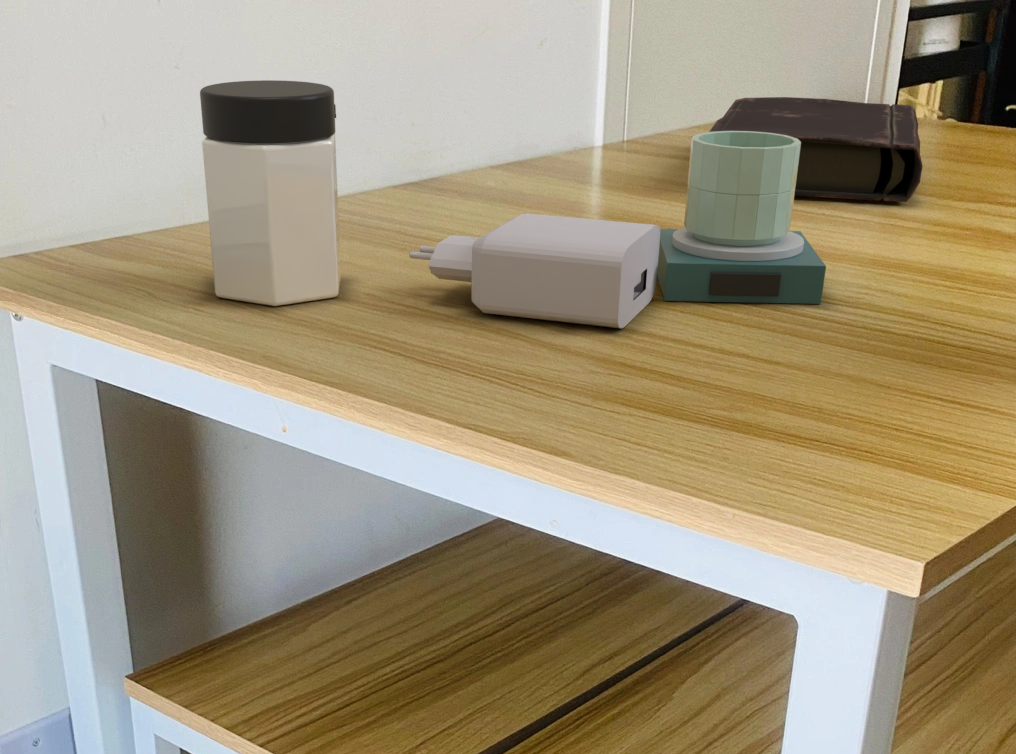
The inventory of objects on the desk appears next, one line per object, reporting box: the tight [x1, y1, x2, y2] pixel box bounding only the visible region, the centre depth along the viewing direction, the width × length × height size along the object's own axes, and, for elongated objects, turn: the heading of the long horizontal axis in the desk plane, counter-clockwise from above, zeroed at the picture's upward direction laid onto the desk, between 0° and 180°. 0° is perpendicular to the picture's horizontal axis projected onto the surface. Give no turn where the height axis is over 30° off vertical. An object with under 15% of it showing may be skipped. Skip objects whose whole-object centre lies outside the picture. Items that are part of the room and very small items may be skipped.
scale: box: [657, 226, 827, 305], centre depth 91 cm, size 10×10×3 cm
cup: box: [683, 131, 801, 246], centre depth 89 cm, size 7×7×6 cm
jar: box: [199, 79, 342, 307], centre depth 86 cm, size 9×8×12 cm
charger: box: [408, 213, 661, 329], centre depth 86 cm, size 5×9×15 cm
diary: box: [708, 96, 924, 203], centre depth 125 cm, size 19×25×5 cm
